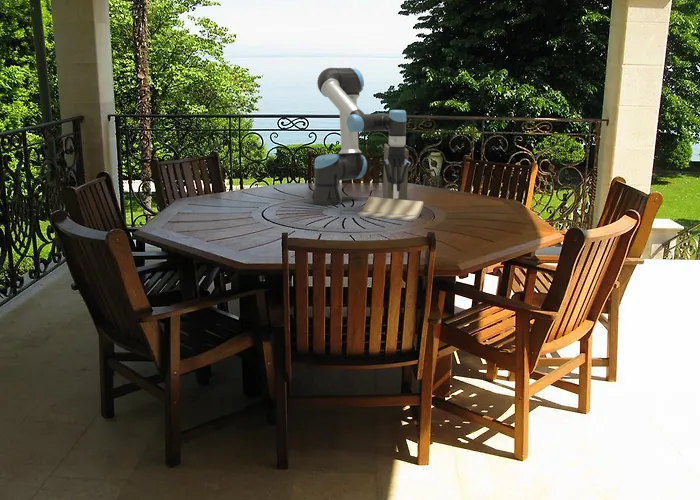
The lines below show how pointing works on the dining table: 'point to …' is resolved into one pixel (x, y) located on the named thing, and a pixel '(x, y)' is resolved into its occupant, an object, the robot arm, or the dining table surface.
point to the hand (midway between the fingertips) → (395, 198)
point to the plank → (394, 206)
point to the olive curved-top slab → (388, 186)
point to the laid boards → (387, 215)
